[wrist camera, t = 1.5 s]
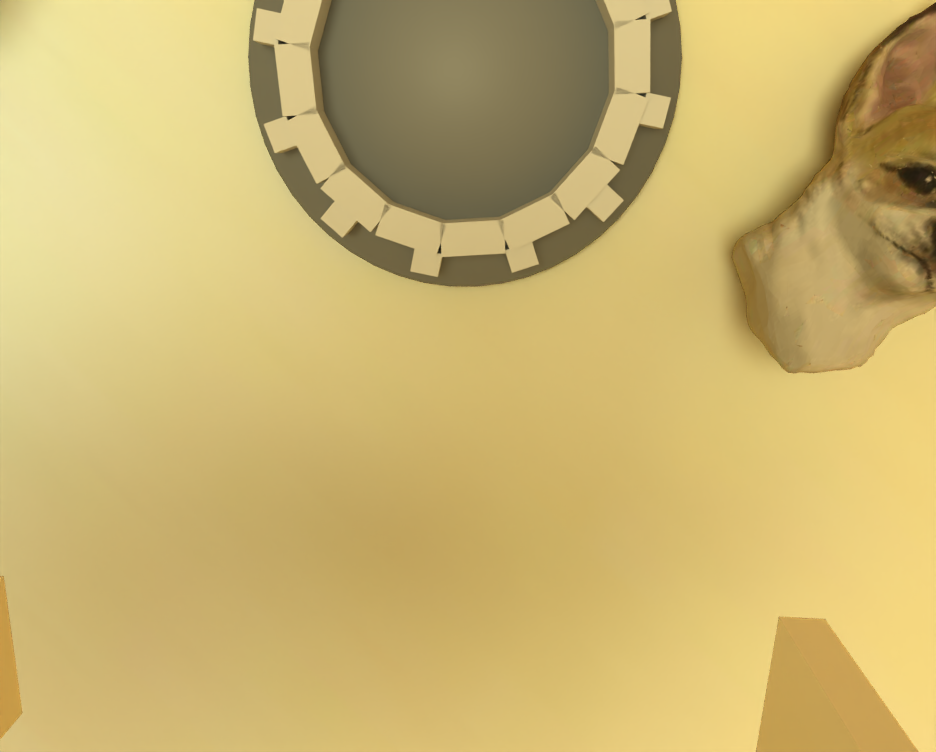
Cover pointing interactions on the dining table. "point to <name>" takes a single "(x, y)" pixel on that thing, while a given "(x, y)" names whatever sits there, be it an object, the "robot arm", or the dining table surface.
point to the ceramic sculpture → (856, 220)
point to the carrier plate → (465, 124)
